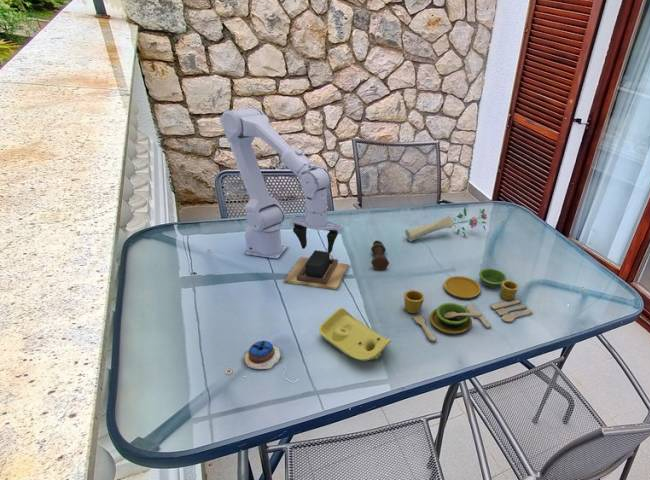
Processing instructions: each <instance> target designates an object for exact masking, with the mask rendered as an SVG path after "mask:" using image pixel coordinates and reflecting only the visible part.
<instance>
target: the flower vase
mask: <svg viewBox="0 0 650 480" xmlns="http://www.w3.org/2000/svg"><path fill="white" fill-rule="evenodd" d="M485 209H486V208H485V207H484V208H483V209H481V208H479V217H475V216H472V217H471V218H469V219H468V223H469V224H468V225H469V226H470V228H471V229H474V228H477V227H476V226H477V225H478V220H479V219H482V220H487V215H488V214H486V213H485V211H486V210H485ZM467 215H468V214H467V209H466V207H464V208H463V213H461V212H459V213H458V215H456V218H458V221H457V220H456V218H455V217H454V218H453V219H452V216H451V214H449V215H447V216H446V217H443V218H441V219H439V220H435V221H434V222H430V223H428V224H424V225H419V226H417V227H416V226H415V227H413V228H408V229H405V231H404V234H405V236H406V239H407V241H409V243H411V242H413V241H415V240H418V239H419V238H422V237H424V236H426V235H429V234H431V233H434V232H437V231H440V230H444V229H451V228H453V227H455V228H457V226H456V225H457V224H463V223H467V220H463V219H464V217H467ZM460 219H462V220H461V221H459V220H460ZM482 224H487V222H486V221H481V223H479V225H480V226H482V227H483V229H484V230H486V226H485V225H482ZM460 231H462V234H463V236H464V238H466V232H465V231H466V229H465V226H462V227H460V226H459V228H458V229H457V230H456V234H459V233H460Z"/></svg>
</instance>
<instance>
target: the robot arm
mask: <svg viewBox="0 0 650 480" xmlns="http://www.w3.org/2000/svg"><path fill="white" fill-rule="evenodd" d="M219 121H220V123H221V126H222V130H223V132H224V134H225V135H224V136H225V137H226V140H227V142H228V144H229V147H230V150H231V152H232V155H233V158H234V160H235V163H236V165H237V168H238V171H239V173H240V176H241V180H242V182H243V184H244V187H245V190H246V192H247V195H248V199H249V200H248V202H247V203H246V205H245V206H244V211H245V219H246V223H247V226H246V228H245V232H244V237H245V245H246V255H249V256H255V257H261V258H269V259H276V260H277V259H279V258H280V257H281V255H282V254H283V253H284V252H285V250H286V249H287V247H288V246H286V245H282V235H281V227H282V224H283V223H284V221H285V220H286V213H285V211H284V209H283V208H282V206H281V205H280V203H279V200H278V199H276V198H274V197H272V196H270V194H269V191H268V187H267V185H266V182H265V179H264V176H263V174H262V171H261V168H260V165H259V162H258V160H257V157H256V154H255V150H254V148H253V145H252V143H253V142H254V140H255V139H256V138H259V139H261V140H262V141H263V142H264V143H265V144H267V145H268V146H269V147H270V148H271V149H273V150H274V151H275V152H276V153H277V154H279V155H280V156H281V161H282V164H283V165H284V166H286V167H287V168H288V169H289V170H290V171H291V172H292V173H293V174H294V175H295V176H296V177H297V178H298V180H299V184H300V186H301V188H302V191H303V192H302V193H303V195H304V203H305V217H296V216H292V217H291V218H290V219H289V226H291V227H293V228H292V232H293V233H294V234H295V235H296V237H297V239H298V241H299V243H300V246H301V249H303V250H304V249H306V247H307V244H308V241H307V229H310V230H314V231H315V230H317V231H327V232H328V233H327V234H326V239H327V252H328V253H330V254H331V253H332V251H333V248H334V244H335V241H336V239H337V237H338V235H341V234H342V233H343V230H344V229H343V228H344V226H343V225H342V224H337V223H334V222H332V221H329V220H328V187H329V186H330V185H332V177H331V174H330V172H329V171H328V170H327V168H325V167H323V166H319V165H317V164H314V162H312V161H311V160H310V159H309V158H308V157H307V155H305V154H304V152H303V151H302V150H301V149H299V148H296V147H294V148H293V147H291V146H290V145H289V144H288V143H287V142H286V140H284V138H283V137H282V136H281V135H280V134H279V133H278V132H277V130H276V129H274V127H272V125H271V124H270V119H269V117H268V116H267V115H266V114H265V113H264V112H263V111H262V110H261V109H260V108H259V107H250V108H243V109H242V108H241V109H233V110H231V109H227V110H225V111H223V113H222V115H221V116H220V119H219Z"/></svg>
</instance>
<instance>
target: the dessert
mask: <svg viewBox="0 0 650 480" xmlns="http://www.w3.org/2000/svg"><path fill="white" fill-rule="evenodd" d="M280 359H281V352H280V348H279V347H277V346H275V345H273V344H272V343H271V342H270V341H268V340H260V341H257V342H254V343H253V344H252V345H250V346H249V349H248V352H246V353H245V355H244V363H245V365H246V366H247V367H248V368H251V369H254V370H269V369H272V368H273V367H274V365H275V364H277V363H279V360H280Z"/></svg>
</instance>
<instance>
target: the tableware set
mask: <svg viewBox="0 0 650 480" xmlns="http://www.w3.org/2000/svg"><path fill="white" fill-rule="evenodd" d="M505 274H506V273H505ZM505 274H504V273H503V272H502V271H500V270H498V269H495V268H482V269H480V271H479V273H478V275H479V278H480V279H481V282H482V284H483V285H484V286H485V287H488V288H491V289H496V288H499V287H500V286H501V287H500V288H501V289H500V298H502V299H503V300H506V301H501V302H496V303H493V304H491V306H490V307H491V309H492V310H493V311H495V313H497V314H498V315H499V316H501V317H502V320H503V321H504V322H506V323H512V322H514V320H515V319H517V318H521V317H526V316H530V315H531V314H532V313H533V312H532V310H531V309H527V305H526V304H521V300H520V299H515V300H514V298H515V296H516V294H517V292H518V290H519V287H520V286H519V284H518V283H516V282H515V281H513V280H507V276H506V275H505ZM443 287H444V289H445V291H446V292H447V293H448V294H449V295H451V296H452V297H453V296H454V297H455V298H459V299H472V298H475V297H477V296H478V295H480V294H481V291H482V288H481V286H480V284H479V283H478V282H477V281H475V280H474V279H472V278H470V277H467V276H463V275H462V276H461V275H456V276H455V275H454V276H451V277H447V278H446V279H445V280H444V281H443ZM403 297H404V298H403V301H404V309H405V311H406V312H407V313H409V314H418V313H419V312H420V311H421V309H422V306H423V303H424V301H425V293H423V292H422V291H419V290H416V289H410V290H407V291H405V292H404V295H403ZM507 301H509V302H507ZM519 304H520V305H519ZM515 305H517V306H515ZM512 306H513V307H512ZM508 307H509V308H508ZM521 310H523V311H521ZM516 311H520V312H517V313H515V314H509V313H512V312H516ZM412 318H413V320H414V322H415V323H416V324H417V325H419V326H421V328H422V330H423V332H424V333H425V335H426V337H427V339H428V341H430V342H432V343H433V342H435V341H436V336H435V335H434V334H433V333H432V331H431V330H430V329H429V327H428V326H427V325H426V319H425V318H424V316H423V315H421V314H420V315H417V316H413V317H412ZM473 318H474V319H478V320H479V321H480V322H481V323H482V325H483V326H484V327H485V328H486V329H490V328H491V325H490V323H489V322H488V320H486V319H485V318H484V316H483V313H482V312H481V311H478V310H477V309H476V308H475V307H474V306H473V304H467V305H466V306H463V305H462V304H460V303H455V302H445V303H442V304H440V305H439V306H437V307H436V308H435V309H433V310H432V311H431V312H430V315H429V320H430V323H431V325H432V326H433V327H434V328H435V329H437V330H439V331H440V332H442V333H446V334H451V335H456V334H462V333H464V332H467V330H469V329H471V327H472V325H473Z"/></svg>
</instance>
